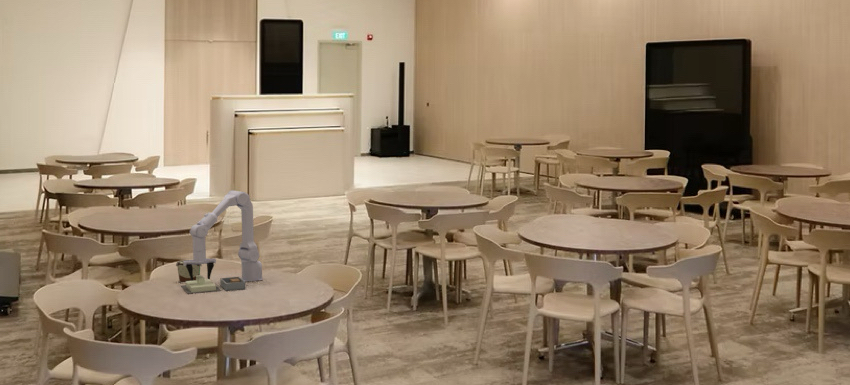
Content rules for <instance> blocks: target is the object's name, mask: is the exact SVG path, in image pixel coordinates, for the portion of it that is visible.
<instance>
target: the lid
mask: <svg viewBox="0 0 850 385" xmlns="http://www.w3.org/2000/svg"><path fill="white" fill-rule="evenodd" d="M185 285H186V287H187V288H188V289H189V290H190V291H191V292H201V291H212V290H216V286H217V284H215V283H214V282H213V281H212V280H211V278H210V279H208V278H207V279H206V278H205V277H204V276H203V275H202V274H200V275H196V280H194V281H186V283H185Z"/></svg>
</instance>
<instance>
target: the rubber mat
mask: <svg viewBox="0 0 850 385" xmlns="http://www.w3.org/2000/svg"><path fill="white" fill-rule="evenodd" d="M180 287H181V288H182V290H185V291H184V292H185V293H186V294H187V295H192V293H195V294H201V293H202V294H203V293H213V292H214V293H215V292H221V291H222V289H220V288H219V287H218V286H217V285H216V290H212V291H201V292H191V291H190V290H189V289H188V288H187V287H186V284H183V285H180Z"/></svg>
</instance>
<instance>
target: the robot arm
mask: <svg viewBox="0 0 850 385" xmlns="http://www.w3.org/2000/svg"><path fill="white" fill-rule="evenodd" d="M235 206H236V207H237V208H239V210H240V211H241V213H240V214H241V240H242V242H240V244H239V249H238V252H237V253H238V254H237V256H238V258H239V259H240V263H241V266H240V267H241V277H240V278H241V279H242V280H244V281H245V283H246V282H257V281H263V266H262V261H260V260H259V258H260V251H259V249H258V245H257V244H256V243H255V234H254V233H255V232H254V205H253V203H252V201H251V199H250V194H249V193H247V192H245V191H240V190H239V191H238V190H234V189H231V190H229V191H228V193H226V194H224V197H223V199H221V201H220V202H219V203H218V205H217V206H216V207H215V208H214V209H213V211H211V212H207V213H204V214H203V217H202V218H201V219H200V220H198V221H197V222H196V223H197V224H196V223H195V224H194V225H192V226H191V227H190V230H189V235H190V236H191V238H192V239H191V240H192V259H187V260H188V261H183V265H184V266H186V268H187V270H188V272H189V275H190V278H191V281H193V267H192V265H196V264H202V265H206V269H207V270H206V271H207V275H206V277H207V279H210V280H211V276H212V275H211V274H212V271H213V268H214V266H215V264H216V263H217V259H216V258H207V253H206V252H207V249H206V247H207V246H206V236H208V233H209V231H210V229H211V228H212V227H213V226H214V225H215V224H216V223H217V222H218V217H220V216H221V214H223V213H224V212H225V211H226V210H228V208H229V207H235Z"/></svg>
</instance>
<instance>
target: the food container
mask: <svg viewBox="0 0 850 385" xmlns="http://www.w3.org/2000/svg"><path fill="white" fill-rule="evenodd" d="M188 260H189V259H184V260H178V261H176V264H175V266H176V267H177V274H178V281H179V283H180V282H186V281H191V278H190V275H189V272H188V270H187V268H186V266H184V265H183V261H188ZM202 266H203V264H196V265H192V267H193V281H194V280H196V275H201V267H202Z"/></svg>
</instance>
